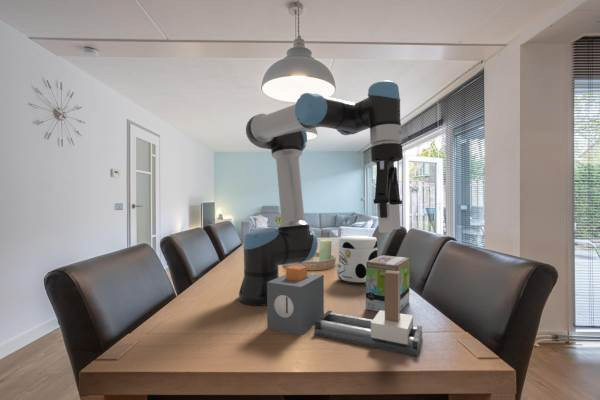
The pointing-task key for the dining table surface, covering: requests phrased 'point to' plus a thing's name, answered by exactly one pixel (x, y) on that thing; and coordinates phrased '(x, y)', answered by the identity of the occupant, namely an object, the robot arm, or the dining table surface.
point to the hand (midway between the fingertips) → (390, 230)
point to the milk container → (355, 257)
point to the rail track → (363, 333)
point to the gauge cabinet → (295, 303)
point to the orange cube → (296, 273)
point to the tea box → (377, 280)
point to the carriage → (392, 314)
